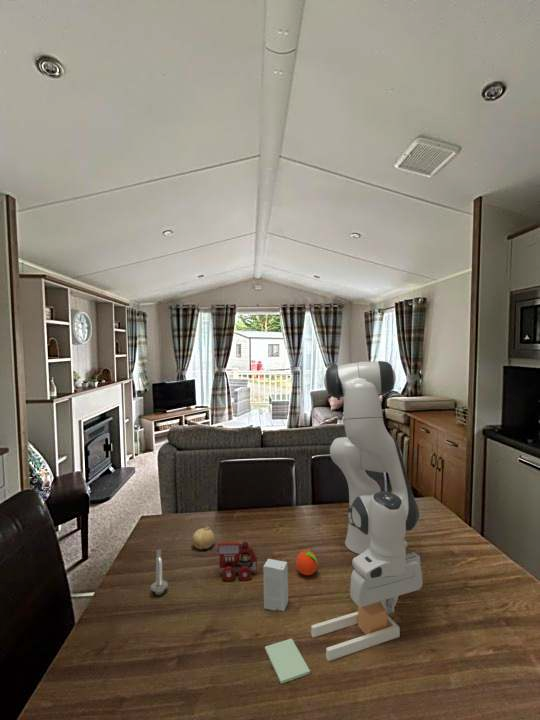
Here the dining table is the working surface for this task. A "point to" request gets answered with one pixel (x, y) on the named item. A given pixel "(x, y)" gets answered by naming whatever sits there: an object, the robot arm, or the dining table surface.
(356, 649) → the chute
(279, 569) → the skincare box
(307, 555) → the clementine
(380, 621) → the block
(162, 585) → the screw
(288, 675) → the pad
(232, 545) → the toy fire truck
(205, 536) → the onion
